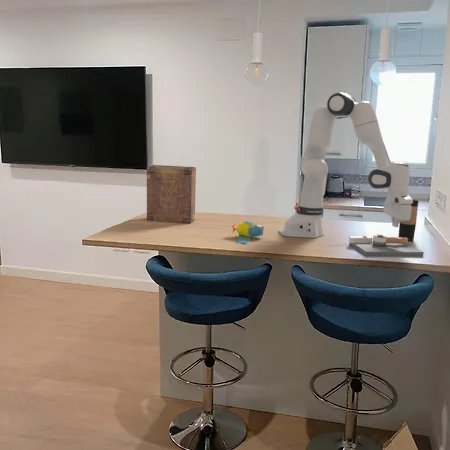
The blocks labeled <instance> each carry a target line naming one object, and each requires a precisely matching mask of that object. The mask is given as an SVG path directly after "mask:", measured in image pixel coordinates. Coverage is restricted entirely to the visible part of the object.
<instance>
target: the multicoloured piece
mask: <svg viewBox="0 0 450 450" xmlns="http://www.w3.org/2000/svg"><path fill="white" fill-rule="evenodd" d="M372 241H373V243H372V244H373V245H376V246H386V243H407V244H409V243H408V238H406V237H399V236H398V237H397V236H396V237H395V236H394V237H392V236H391V237H388V236H384V235H383V234H377V235H375V234H374V235H373V236H372Z"/></svg>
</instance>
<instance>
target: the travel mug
mask: <svg viewBox="0 0 450 450" xmlns="http://www.w3.org/2000/svg"><path fill="white" fill-rule="evenodd" d="M411 206H412V210H411V218H410V220H409V221H402V220H400V222H399V226H398V237H406V238H408V242H411V243H412V242H414V238H415V234H416V233H415V232H416V228H417V227H416V225H417V218H418V210H419V209H418V208H419V200H417V199H413V203H412V204H411Z"/></svg>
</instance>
